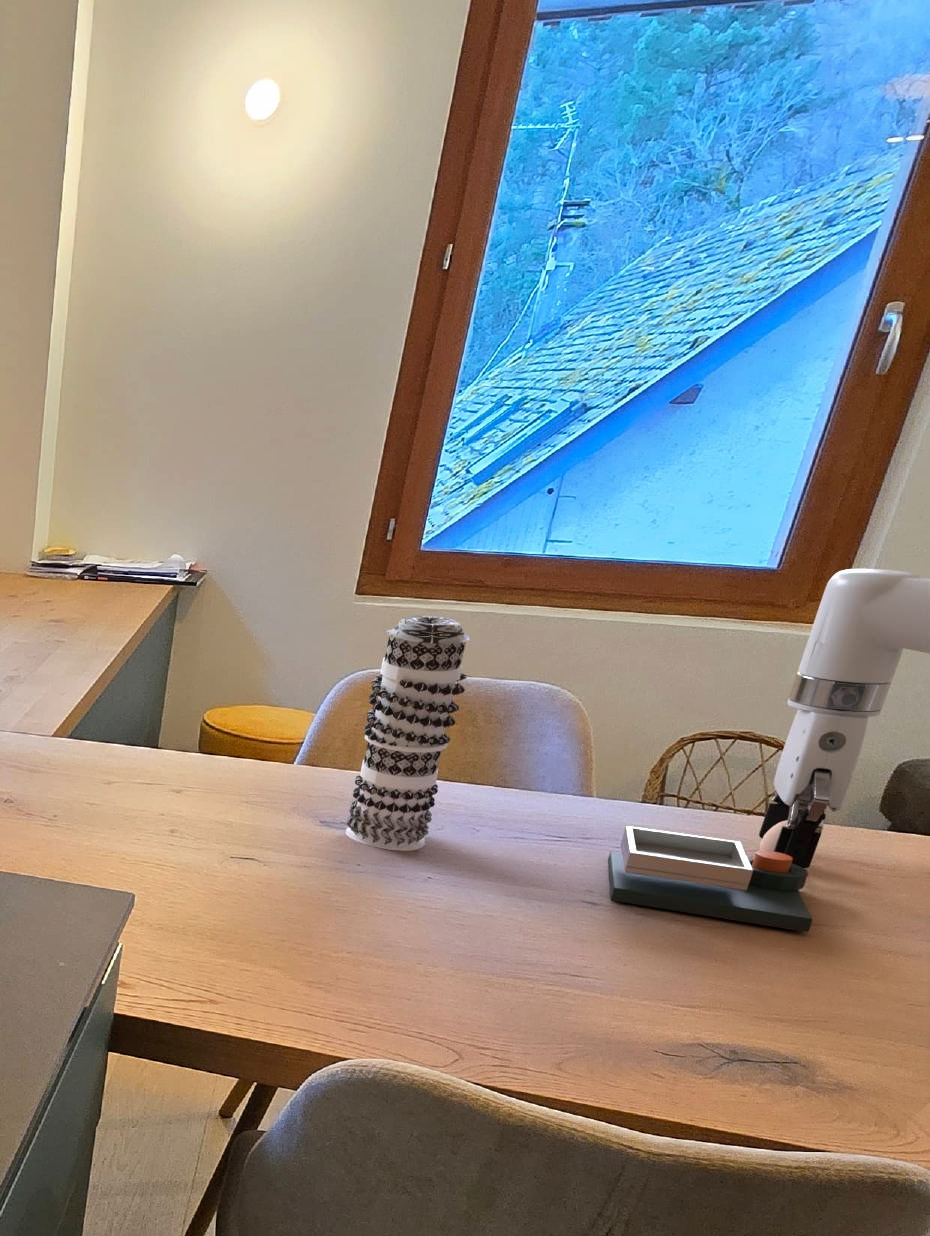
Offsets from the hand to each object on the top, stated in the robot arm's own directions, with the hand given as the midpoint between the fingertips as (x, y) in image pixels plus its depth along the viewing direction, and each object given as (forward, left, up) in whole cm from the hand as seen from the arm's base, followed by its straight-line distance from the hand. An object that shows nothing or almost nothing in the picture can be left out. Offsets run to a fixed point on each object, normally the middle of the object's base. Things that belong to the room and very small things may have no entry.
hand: (782, 852), depth 129 cm
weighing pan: (+10, +15, +1) cm, 18 cm away
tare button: (+2, +10, +1) cm, 10 cm away
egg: (0, 0, -2) cm, 2 cm away
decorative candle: (+38, +12, -2) cm, 40 cm away
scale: (+8, +14, -2) cm, 16 cm away
